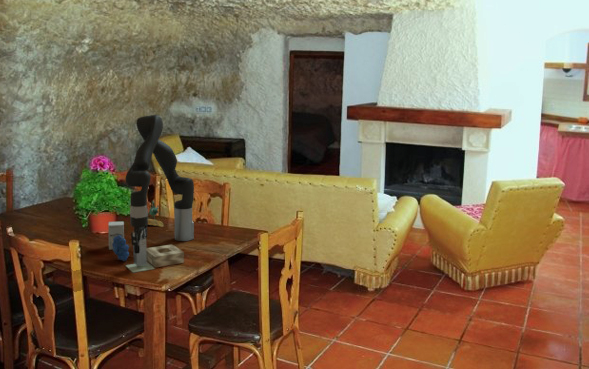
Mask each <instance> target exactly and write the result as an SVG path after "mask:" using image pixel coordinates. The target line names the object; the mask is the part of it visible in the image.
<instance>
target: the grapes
mask: <svg viewBox="0 0 589 369" xmlns="http://www.w3.org/2000/svg"><path fill="white" fill-rule="evenodd" d="M113 241H114V242H113V244H112V246H113V249H112V251H113V253H114V254H115V256H117V259H118V260H120V261H123V262H127V260H128V257H129V256H130V252H129V249H130V246H129V245H128V244H126V243H127V240H126V239H125V237H124V238H122V236H121V235H117V236H115V237H114V238H113Z"/></svg>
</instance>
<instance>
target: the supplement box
mask: <svg viewBox="0 0 589 369" xmlns="http://www.w3.org/2000/svg"><path fill="white" fill-rule="evenodd" d="M124 225H125V222H124V221H108V225H107V226H108V228H107V229H108V231H107V232H108V250H110V251H111V250H113V246H112V244H113V242H114V241H113V238H114V237H115V236H117V235H121V236H122V238H124V239H125V231H124V230H125V226H124Z"/></svg>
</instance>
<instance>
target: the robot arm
mask: <svg viewBox="0 0 589 369" xmlns="http://www.w3.org/2000/svg"><path fill="white" fill-rule="evenodd" d="M135 123H136V128H137V131H138V133H139V135H140V136H141V138H142V139H143V140H144V141H143V142H142V143H141V145H140V146H139V147H138V149H137V150H136V153H135V155H134V160H133V163H132V165H131V166H130V168H129V169H128V171H127V172H126V175H125V183H126V185H127V186H129V187H139V188H140V187H141V188H140V190H136V191H132V192H131V193H130V208H129V210H130V211H129V212H130V214H129V215H130V226H131V227H133V228H134V229H133V231H132V232H131V233H130V236H131V237H130V238H131V245H132V246H133V245H134V253H140V241H141V239H142V237H144V238H146V239H147V238H148V219H149V217H148V216H149V215H148V213H149V209H148V198H147V197H148V190H149V186H150V183H151V180H152V179H151V178H152V177H151V174H150V173H149V171H148V170H149V168H150V166H151V160H152V158H153V157H154V158H155V160H156V162H157V163H158V165H159V167H160V168H161V170H162V172H163V174H164V176H165V177H166V180H167V183H168V185H169V187H170V190H171V191H172V193H173V194H176V195H181V199H180V200H176V201H175V202H174V206H173V208H174V212H173V213H174V216H173V217H174V240H175V241H177V242H188V241H191V240H194V237H195V235H194V234H195V229H194V228H195V222H194V221H193V203H194V198H195V197H194V194H195V183H194V179H192V178H190V177H184V176H180V175H179V174H178V172H177V170H176V168H177V164H178V158H177V156H176V154H175V151H174V150H173V148H172V147H171V146H170V145H168V144H167V143H165V142H164V141H163V140H161V139H160V137H161V135H162V132H163V129H164V122H163V119H162V117H161V116H160V115H158V114H151V115H145V116H140V117H138V118H137V119H136V122H135ZM153 155H154V156H153Z"/></svg>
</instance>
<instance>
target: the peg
mask: <svg viewBox="0 0 589 369" xmlns="http://www.w3.org/2000/svg"><path fill="white" fill-rule="evenodd" d="M132 246H133V247H132V248H133V250H132V251H133V253H132V254H133V257H132V258H133V264H135V265H136V266H140V265H146V264H147V262H148V261H147V252H146V248H147V238H144V237H142V239H141V241H140V253H134V245H132Z"/></svg>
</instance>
